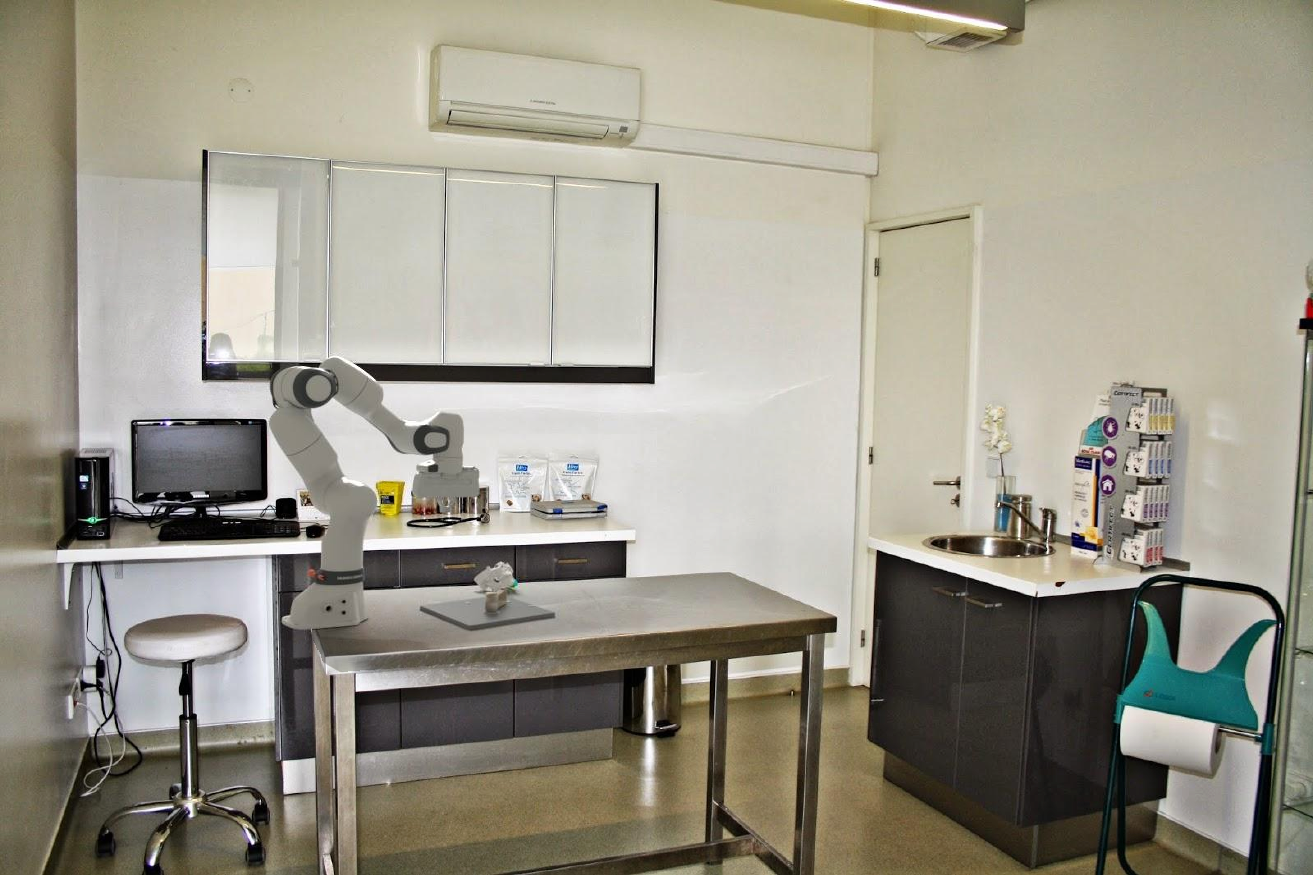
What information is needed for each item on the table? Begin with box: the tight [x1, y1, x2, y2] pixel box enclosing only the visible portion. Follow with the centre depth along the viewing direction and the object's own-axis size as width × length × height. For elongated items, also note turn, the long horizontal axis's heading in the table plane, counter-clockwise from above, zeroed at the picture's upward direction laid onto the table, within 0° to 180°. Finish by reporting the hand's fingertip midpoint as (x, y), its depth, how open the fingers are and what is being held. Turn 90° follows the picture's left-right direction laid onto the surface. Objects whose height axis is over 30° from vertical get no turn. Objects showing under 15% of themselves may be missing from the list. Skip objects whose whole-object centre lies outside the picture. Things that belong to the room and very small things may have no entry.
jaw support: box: [473, 561, 519, 592], centre depth 321 cm, size 12×9×10 cm
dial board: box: [419, 596, 556, 631], centre depth 289 cm, size 28×28×1 cm
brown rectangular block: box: [484, 587, 508, 613], centre depth 290 cm, size 4×14×5 cm, turn 172°
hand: (445, 512), depth 298 cm, fingers closed
